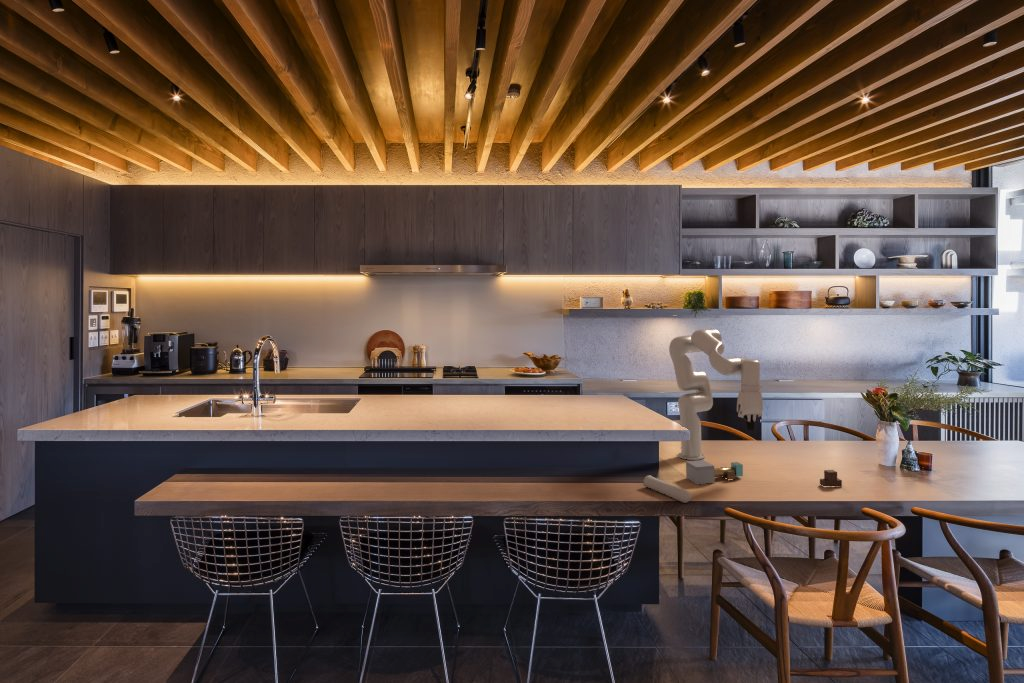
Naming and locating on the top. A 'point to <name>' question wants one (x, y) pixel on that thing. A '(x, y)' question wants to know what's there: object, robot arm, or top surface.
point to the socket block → (700, 472)
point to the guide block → (729, 474)
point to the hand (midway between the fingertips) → (750, 429)
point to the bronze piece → (734, 467)
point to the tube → (667, 489)
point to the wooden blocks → (830, 479)
